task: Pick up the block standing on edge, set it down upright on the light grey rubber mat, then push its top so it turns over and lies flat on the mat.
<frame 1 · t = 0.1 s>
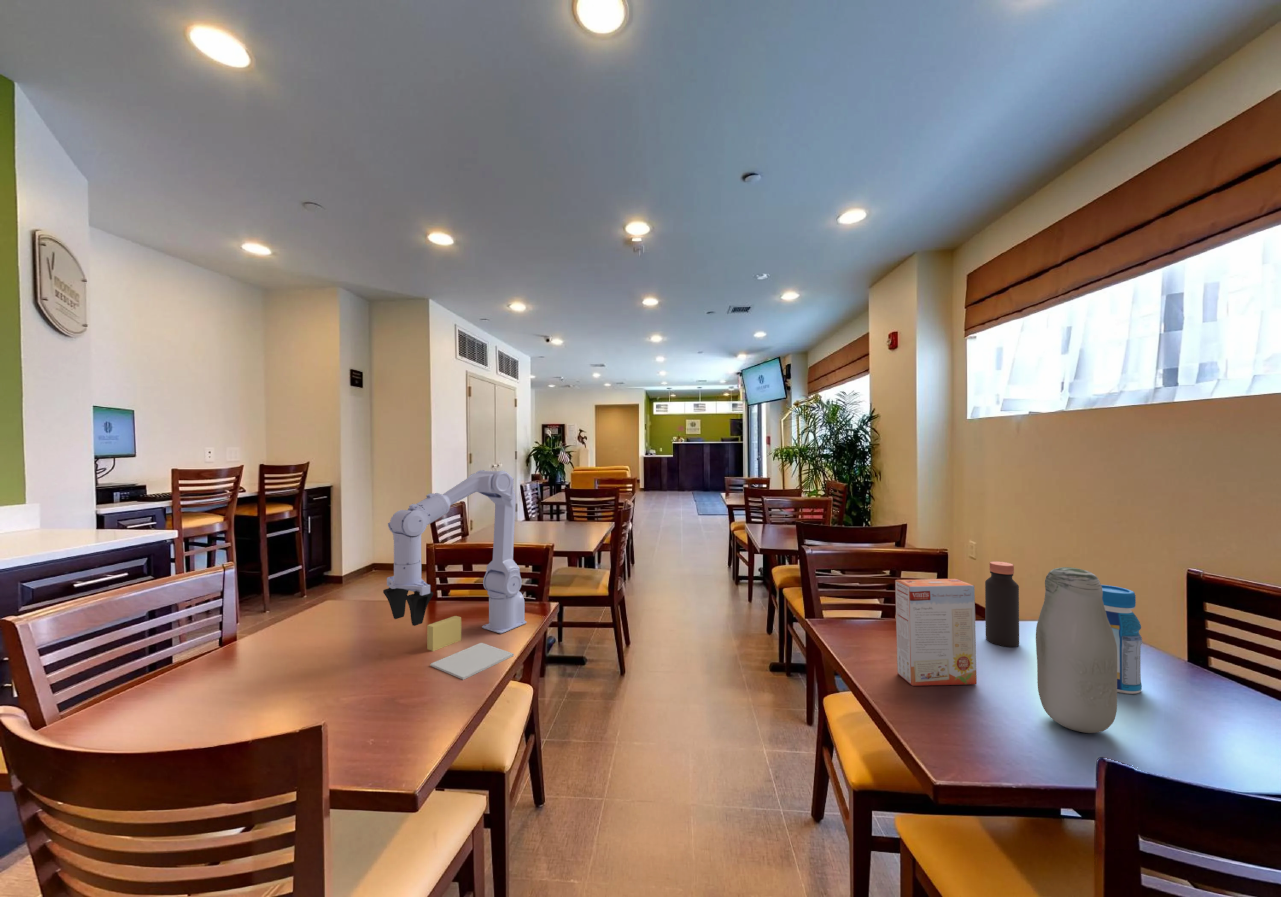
hand: (408, 621, 107), 10 cm above the table, fingers open, 7 cm apart
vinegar: (1002, 642, 118), on the table
beverage bottle: (1112, 686, 97), on the table
mat: (473, 660, 109), on the table
cracker box: (935, 680, 99), on the table
block: (444, 644, 118), on the table
grey jar: (1075, 728, 82), on the table
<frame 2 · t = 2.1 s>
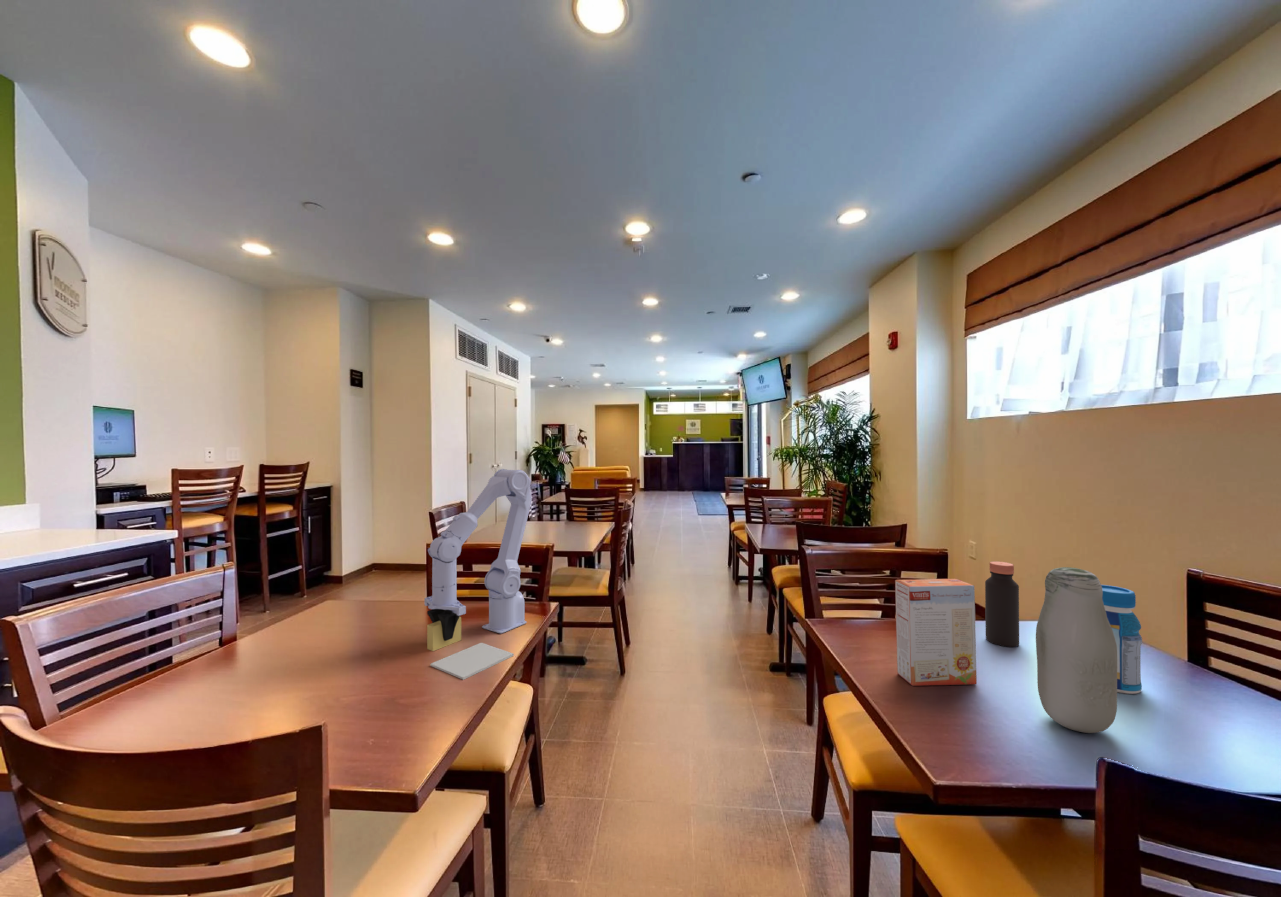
hand: (444, 638, 118), 2 cm above the table, fingers closed on block, 2 cm apart
block: (444, 644, 118), on the table, touching gripper
everything else where it was.
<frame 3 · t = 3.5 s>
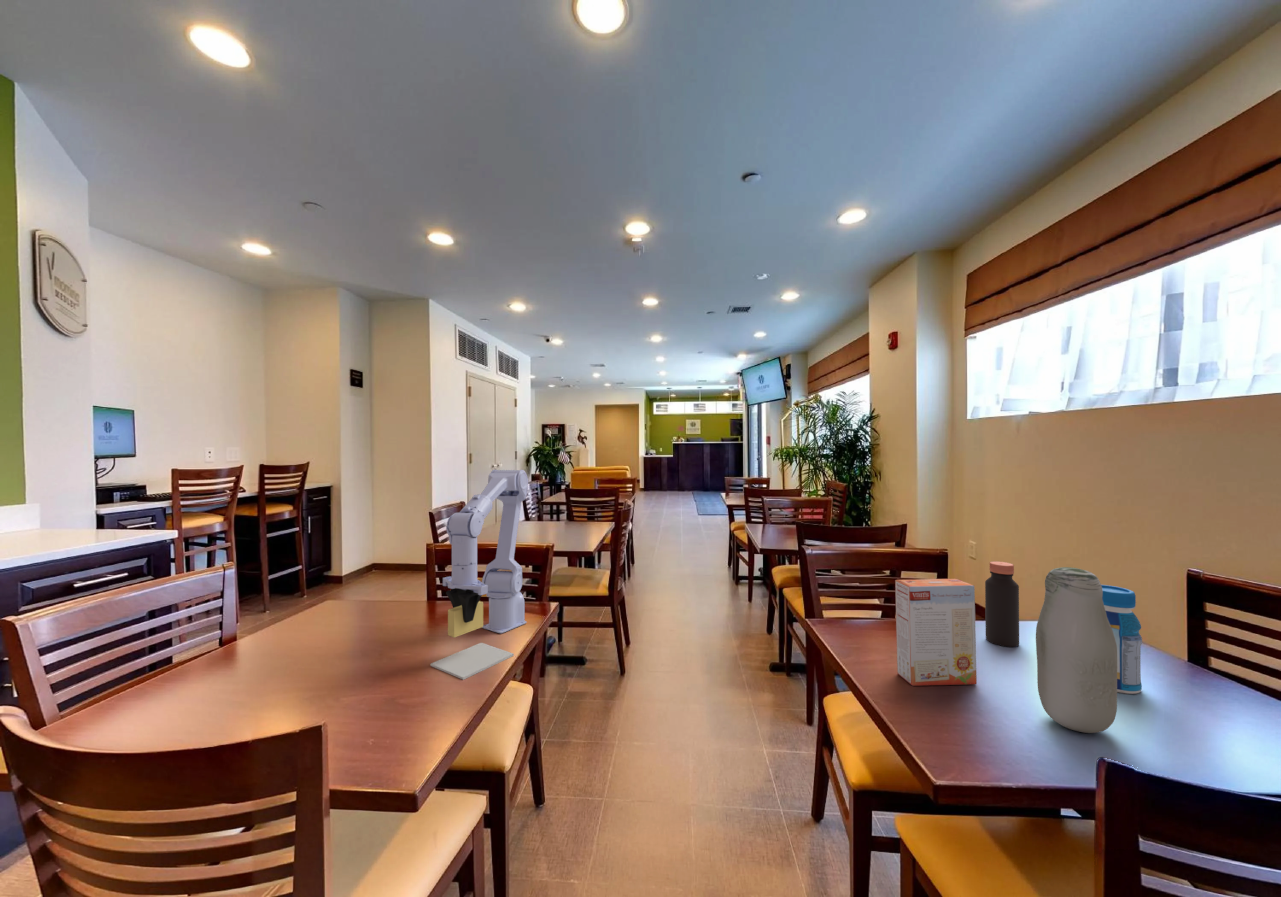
hand: (464, 620, 111), 9 cm above the table, fingers closed on block, 2 cm apart
block: (466, 630, 111), point 6 cm above the table, touching gripper
everything else where it was.
when the fingers open (2 cm above the table, at t = 5.0 s): block stays where it is, resting on mat.
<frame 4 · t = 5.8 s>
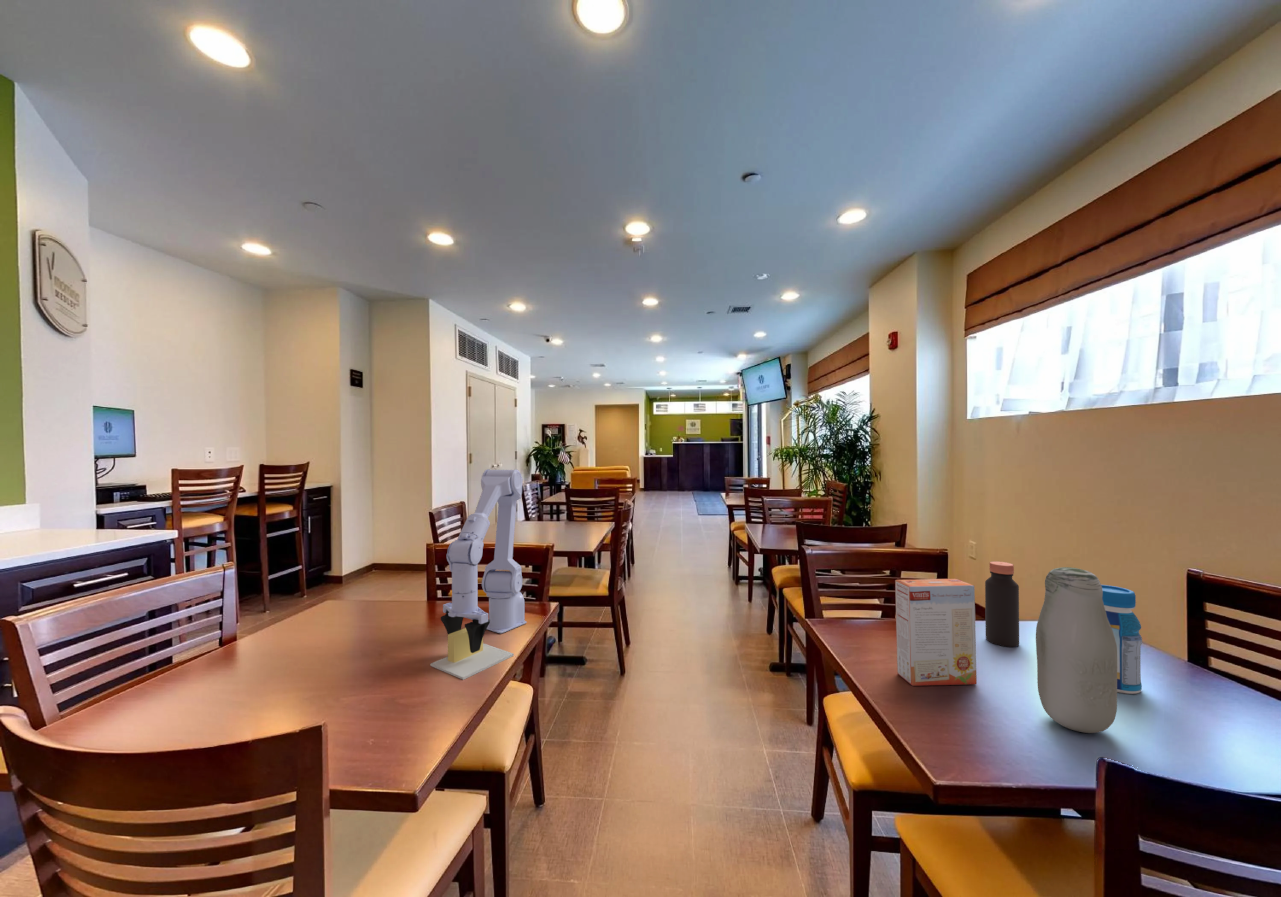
hand: (465, 647, 111), 2 cm above the table, fingers open, 7 cm apart
block: (465, 655, 111), resting on mat
everything else where it was.
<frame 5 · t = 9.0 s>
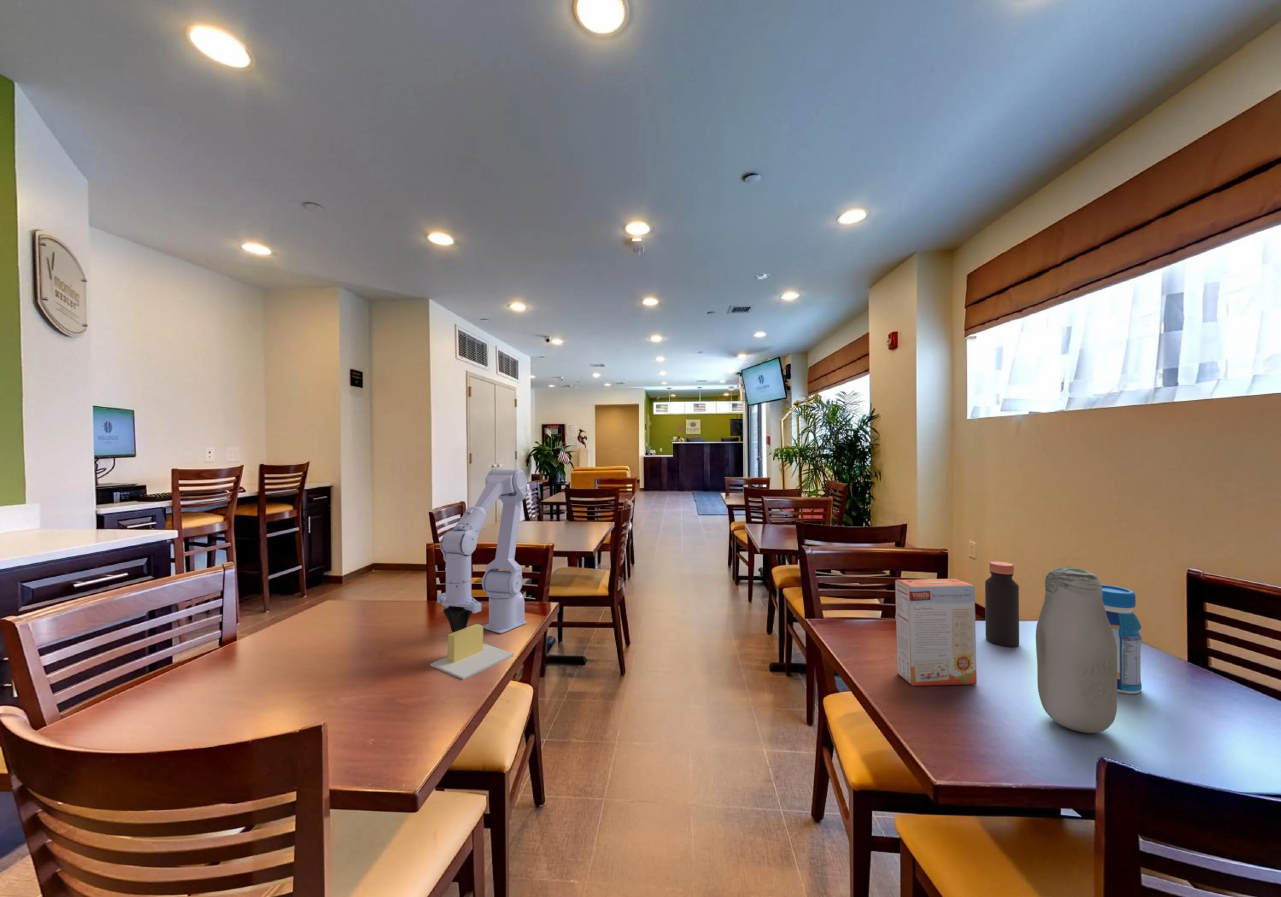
hand: (458, 636, 112), 4 cm above the table, fingers closed
block: (465, 655, 111), point 1 cm above the table, touching gripper, mat
everything else where it was.
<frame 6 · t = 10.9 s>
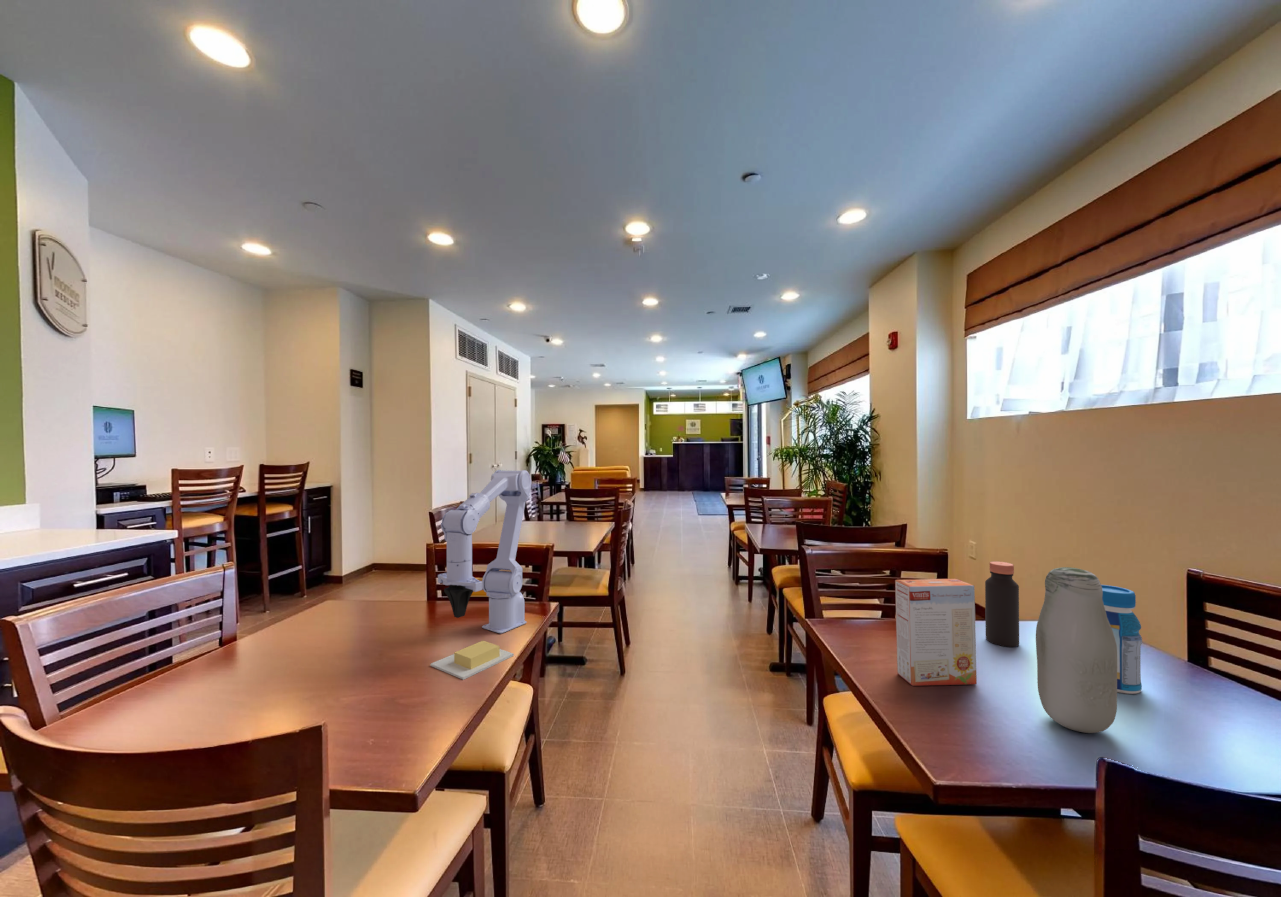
hand: (459, 616, 112), 9 cm above the table, fingers closed
block: (469, 651, 110), point 2 cm above the table, tilted 90°, touching mat
everything else where it was.
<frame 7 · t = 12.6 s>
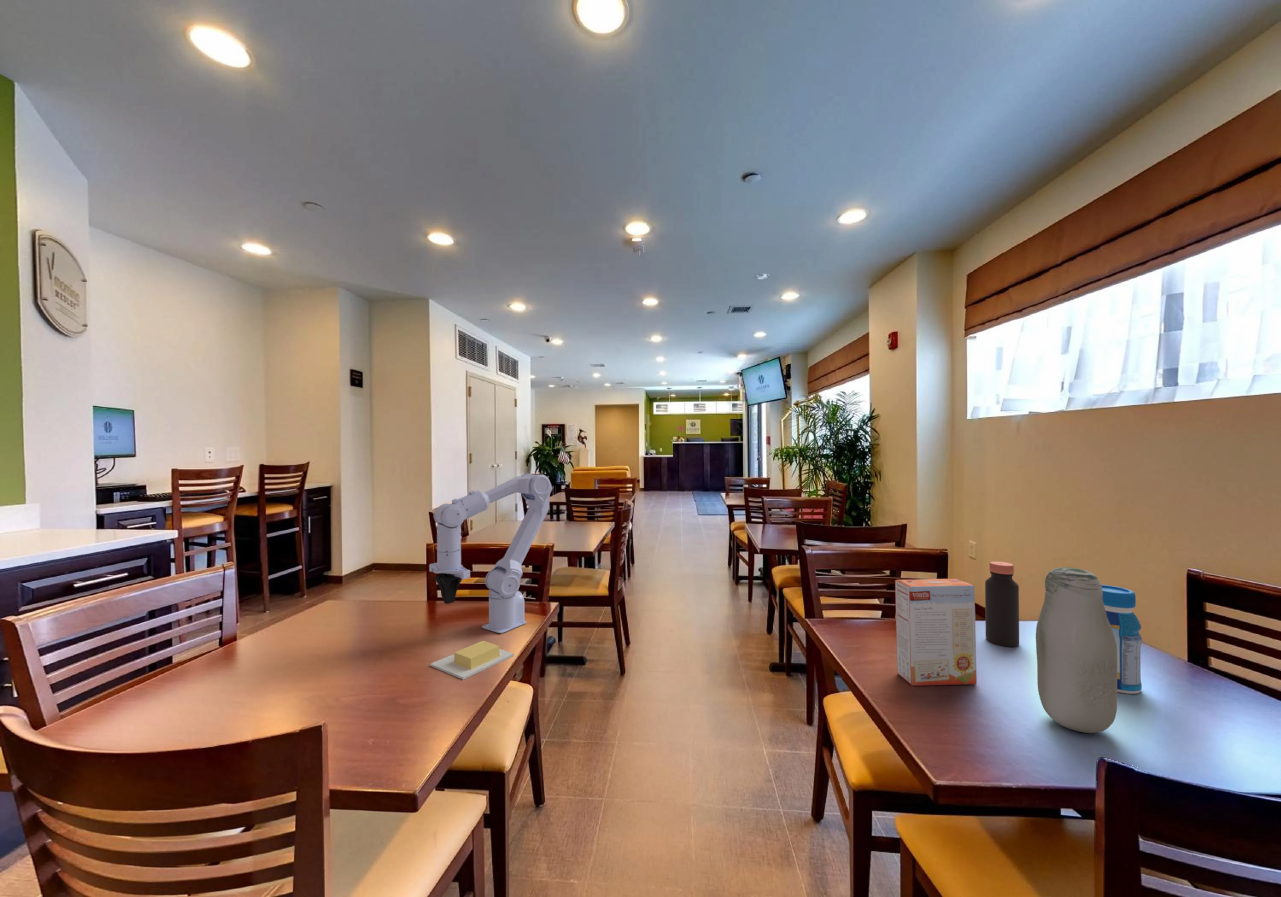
hand: (449, 602, 121), 10 cm above the table, fingers closed
nothing on the table moved.
at the end: block tilted 90°; block inside the target area (1.7 cm from its centre), point 1.7 cm above the table; the gripper is holding nothing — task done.
